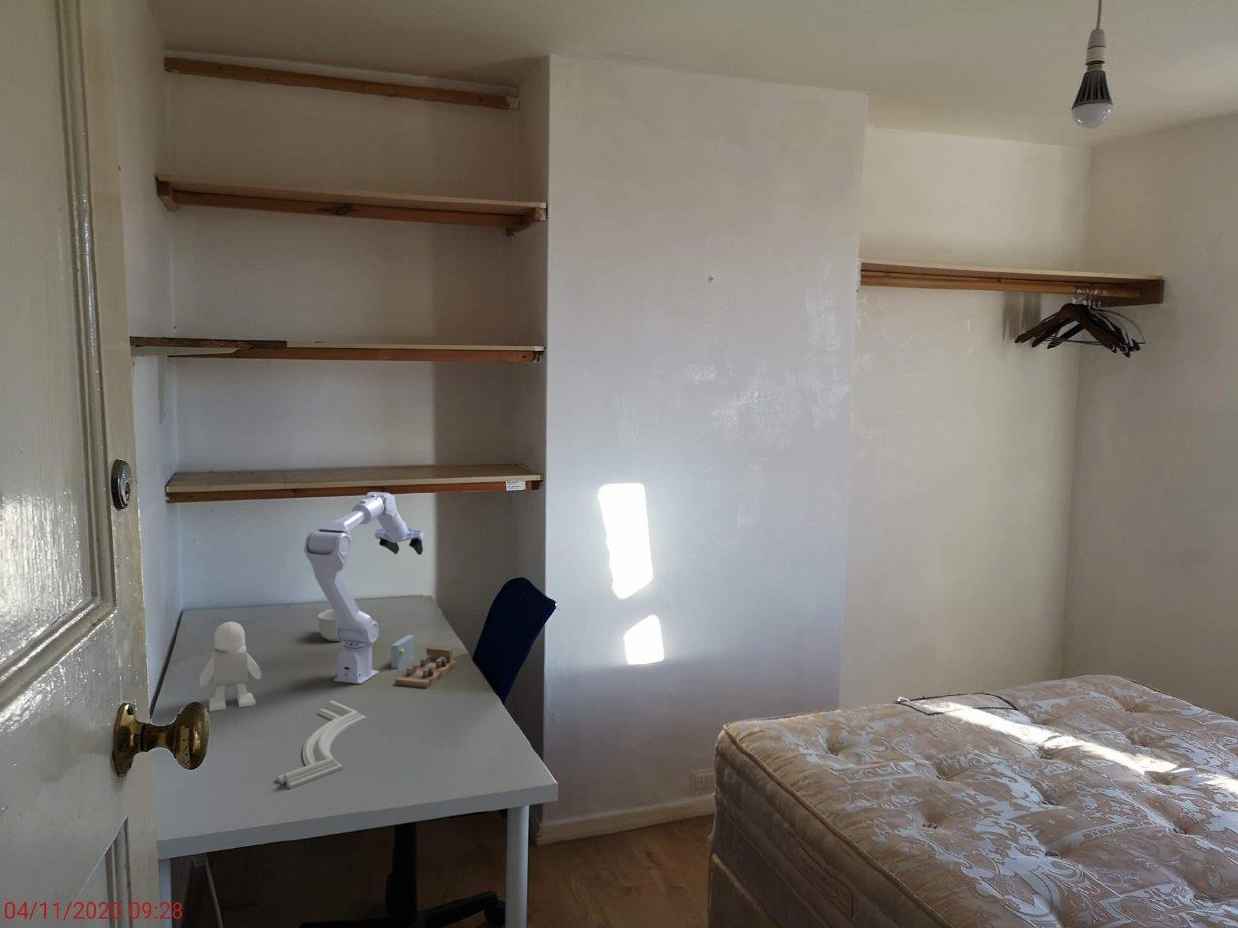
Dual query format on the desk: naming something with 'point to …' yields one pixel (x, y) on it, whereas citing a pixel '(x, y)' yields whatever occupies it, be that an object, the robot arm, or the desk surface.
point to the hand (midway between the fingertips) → (409, 551)
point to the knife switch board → (428, 668)
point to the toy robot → (230, 666)
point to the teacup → (328, 624)
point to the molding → (322, 746)
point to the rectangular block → (402, 651)
